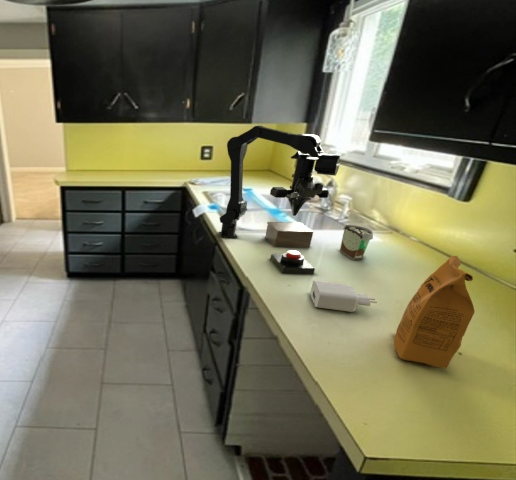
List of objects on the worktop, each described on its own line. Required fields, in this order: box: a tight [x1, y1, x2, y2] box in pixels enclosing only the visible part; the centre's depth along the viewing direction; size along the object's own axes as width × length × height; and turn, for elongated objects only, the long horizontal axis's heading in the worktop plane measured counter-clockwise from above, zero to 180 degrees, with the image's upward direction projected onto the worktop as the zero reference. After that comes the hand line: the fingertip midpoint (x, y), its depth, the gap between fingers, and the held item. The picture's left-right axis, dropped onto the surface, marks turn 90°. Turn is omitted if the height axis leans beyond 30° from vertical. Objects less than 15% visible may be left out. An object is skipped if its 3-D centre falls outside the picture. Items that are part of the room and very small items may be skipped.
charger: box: [309, 280, 378, 313], centre depth 100 cm, size 5×9×15 cm
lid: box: [266, 221, 314, 234], centre depth 144 cm, size 12×13×1 cm
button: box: [286, 249, 302, 259], centre depth 122 cm, size 4×4×2 cm
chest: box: [264, 224, 314, 248], centre depth 145 cm, size 11×13×6 cm
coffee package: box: [393, 255, 475, 369], centre depth 77 cm, size 10×12×22 cm
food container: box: [339, 224, 374, 261], centre depth 132 cm, size 12×6×10 cm, turn 179°
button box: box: [269, 251, 316, 275], centre depth 124 cm, size 12×10×4 cm
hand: (294, 215), depth 135 cm, fingers closed
